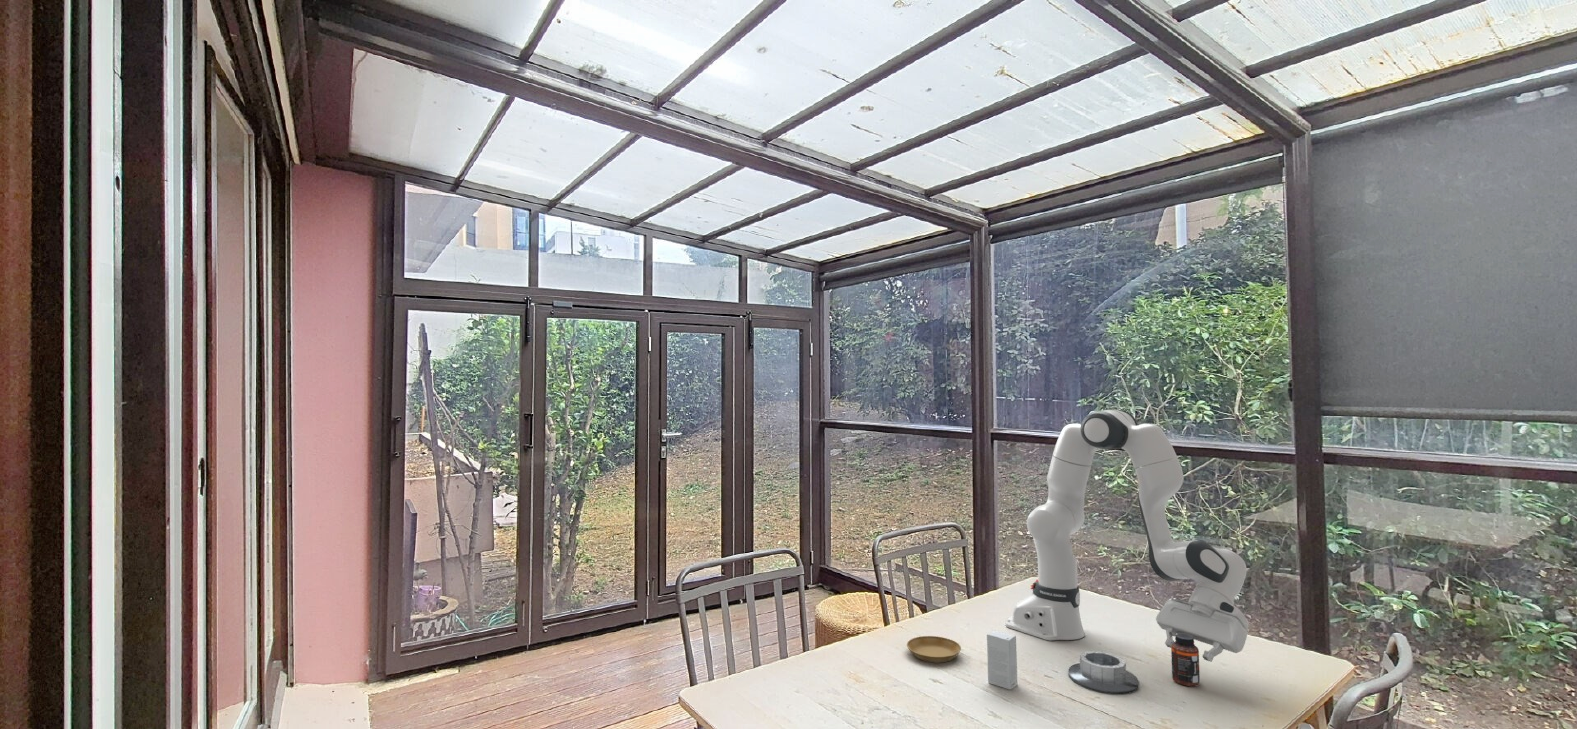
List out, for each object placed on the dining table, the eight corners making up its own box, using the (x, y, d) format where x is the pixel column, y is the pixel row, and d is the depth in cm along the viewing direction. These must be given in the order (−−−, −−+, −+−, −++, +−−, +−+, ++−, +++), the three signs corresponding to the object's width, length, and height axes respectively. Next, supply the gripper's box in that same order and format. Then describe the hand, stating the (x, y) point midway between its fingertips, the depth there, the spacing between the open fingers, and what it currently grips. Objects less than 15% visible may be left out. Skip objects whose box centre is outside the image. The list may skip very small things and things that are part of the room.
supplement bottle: (1204, 688, 159) (1202, 641, 159) (1177, 686, 160) (1176, 639, 160) (1194, 678, 165) (1192, 632, 165) (1168, 676, 166) (1167, 631, 166)
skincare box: (1017, 684, 161) (1017, 635, 162) (1010, 690, 158) (1009, 640, 159) (994, 677, 165) (993, 629, 166) (987, 683, 162) (986, 634, 163)
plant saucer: (940, 671, 170) (940, 661, 170) (896, 654, 181) (895, 645, 181) (971, 656, 180) (971, 646, 180) (928, 641, 191) (928, 632, 191)
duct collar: (1059, 680, 163) (1058, 660, 164) (1080, 661, 175) (1079, 642, 175) (1128, 700, 153) (1128, 679, 153) (1146, 678, 165) (1145, 658, 165)
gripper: (1164, 589, 176) (1142, 632, 171) (1245, 611, 158) (1224, 660, 153) (1174, 603, 178) (1153, 646, 173) (1256, 626, 160) (1235, 675, 155)
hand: (1187, 652), depth 163 cm, fingers open, 8 cm apart
